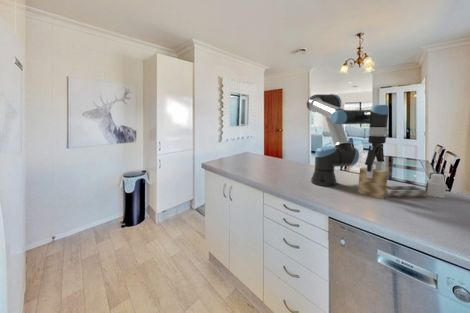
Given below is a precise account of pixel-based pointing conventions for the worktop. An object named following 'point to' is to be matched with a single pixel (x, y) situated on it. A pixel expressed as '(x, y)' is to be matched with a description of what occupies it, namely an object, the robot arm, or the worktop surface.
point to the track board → (405, 192)
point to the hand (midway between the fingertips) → (373, 175)
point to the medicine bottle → (436, 185)
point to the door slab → (373, 183)
